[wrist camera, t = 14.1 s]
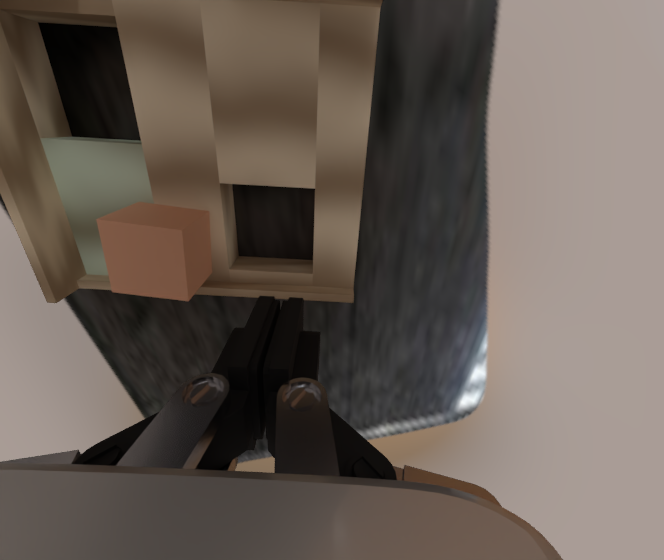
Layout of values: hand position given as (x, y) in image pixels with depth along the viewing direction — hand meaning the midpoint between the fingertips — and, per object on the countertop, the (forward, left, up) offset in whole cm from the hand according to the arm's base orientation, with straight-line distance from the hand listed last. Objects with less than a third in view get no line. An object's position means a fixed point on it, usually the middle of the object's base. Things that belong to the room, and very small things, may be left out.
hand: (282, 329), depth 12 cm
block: (0, -9, -10) cm, 13 cm away
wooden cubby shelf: (-4, -6, -13) cm, 15 cm away
